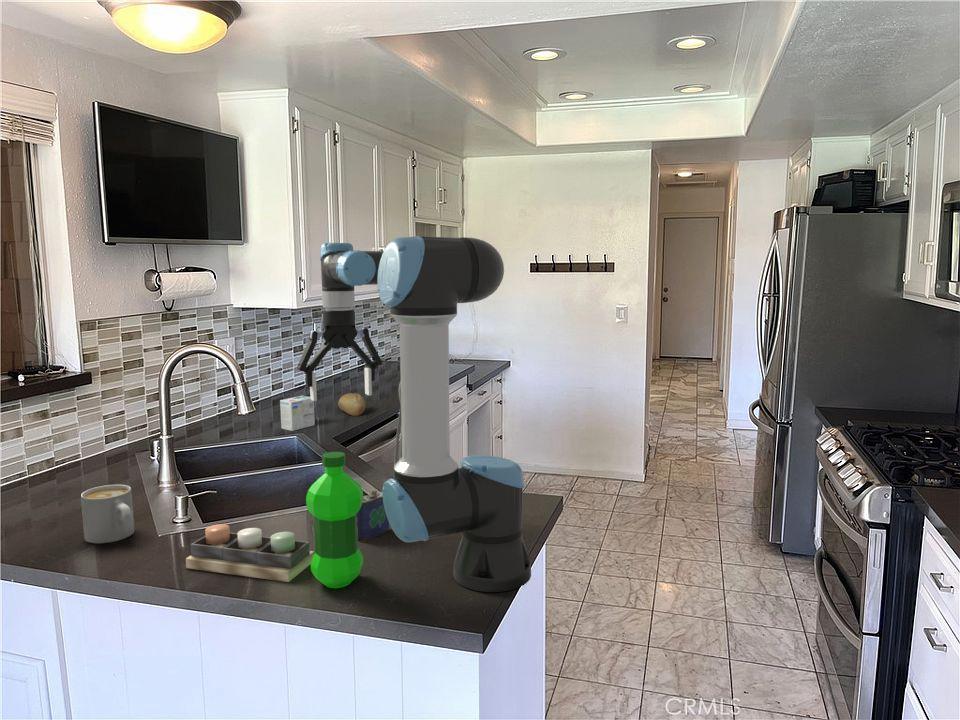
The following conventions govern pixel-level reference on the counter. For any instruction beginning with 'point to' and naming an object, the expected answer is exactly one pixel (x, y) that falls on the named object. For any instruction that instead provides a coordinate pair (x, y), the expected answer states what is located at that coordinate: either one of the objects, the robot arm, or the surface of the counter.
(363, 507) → the flask
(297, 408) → the light bulb box
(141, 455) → the counter surface
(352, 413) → the potato
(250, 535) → the white button
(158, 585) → the counter surface
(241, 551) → the button panel
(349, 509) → the plastic bottle
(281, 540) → the sage button
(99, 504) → the coffee mug
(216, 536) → the terracotta button
